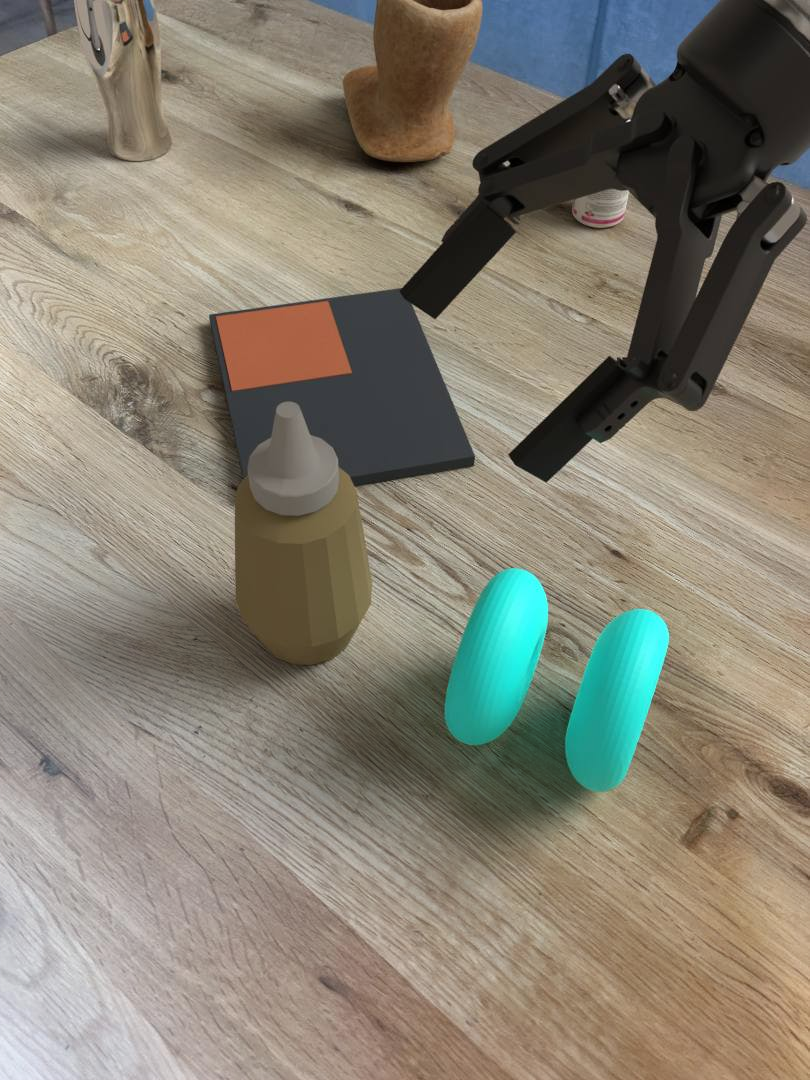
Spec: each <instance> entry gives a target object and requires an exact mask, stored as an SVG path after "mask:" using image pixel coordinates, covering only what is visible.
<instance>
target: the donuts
mask: <svg viewBox="0 0 810 1080" xmlns="http://www.w3.org/2000/svg"><path fill="white" fill-rule="evenodd" d="M548 603H549V602H548V598H547V594H546V591H545V589H544V587H543V585H542V583H541V582H540V580H539V579H538V578H537V577H536V576H535V574H533V573H532V572H530V571H528V570H526V569H523V568H520V567H519V568H518V567H511V568H506V569H503V570H501V571H499V572H498V573H496V574H495V575H493V576H492V577H491V578H490V580H489V581H488V582H487V584H486V585H485V586H484V587H483V590H482V591H481V593H480V595H479V596H478V599H477V601H476V602H475V605H474V606H473V609H472V611H471V614H470V615H469V618H468V620H467V623H466V626H465V628H464V631H463V634H462V636H461V640H460V642H459V645H458V648H457V651H456V654H455V657H454V661H453V663H452V664H453V665H452V666H451V667H452V668H451V671H450V675H449V678H448V683H447V684H448V685H447V688H446V693H445V700H444V701H445V702H444V719H445V723H446V727H447V729H448V731H449V733H450V734H451V735H452V736H453V738H455V739H456V740H457V741H459V742H461V743H463V744H465V745H470V746H481V745H485V744H489V743H490V742H492V741H494V740H496V739H497V738H499V737H500V736H502V735H503V734H504V733H505V732H506V730H508V729H509V727H510V726H511V725H512V724H513V722H514V721H515V719H516V718H517V715H518V714H519V712H520V710H521V708H522V706H523V704H524V701H525V699H526V697H527V694H528V691H529V689H530V686H531V684H532V681H533V678H534V675H535V672H536V669H537V666H538V663H539V660H540V657H541V653H542V649H543V646H544V642H545V638H546V634H547V631H548V630H547V629H548V623H549V604H548ZM669 644H670V632H669V628H668V625H667V624H666V622H665V621H664V619H663V618H662V617H661V616H660V615H659V614H657V613H656V612H654V611H652V610H650V609H645V608H633V609H630V610H626V611H624V612H622V613H620V614H618V615H617V616H615V617H614V618H613V619H612V620H611V621H610V622H608V623H607V624H606V626H605V627H604V628H603V629H602V631H601V632H600V634H599V636H598V637H597V640H596V641H595V644H594V646H593V649H592V651H591V653H590V656H589V659H588V662H587V664H586V668H585V669H584V672H583V676H582V678H581V682H580V685H579V688H578V691H577V693H576V698H575V701H574V703H573V707H572V710H571V713H570V716H569V720H568V724H567V728H566V732H565V741H564V750H565V758H566V762H567V766H568V768H569V771H570V773H571V775H572V776H573V778H574V779H575V781H576V782H577V783H579V785H581V786H582V787H583V788H585V789H586V790H588V791H592V792H595V793H596V792H597V793H604V792H609V791H611V790H614V789H616V788H617V787H618V786H620V785H621V783H622V782H623V781H624V779H625V778H626V775H627V773H628V771H629V768H630V766H631V762H632V759H633V757H634V756H635V755H634V754H635V752H636V749H637V745H638V743H639V740H640V737H641V734H642V731H643V728H644V726H645V722H646V719H647V717H648V713H649V710H650V707H651V704H652V700H653V697H654V695H655V691H656V688H657V685H658V682H659V678H660V675H661V672H662V668H663V665H664V662H665V659H666V656H667V651H668V648H669Z"/></svg>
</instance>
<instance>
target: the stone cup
mask: <svg viewBox="0 0 810 1080" xmlns="http://www.w3.org/2000/svg"><path fill="white" fill-rule="evenodd" d="M482 17H483V1H482V0H376V4H375V11H374V21H373V32H372V36H373V37H372V38H373V39H372V40H373V50H374V56H375V57H374V58H375V62H376V65H367V66H363V67H359V68H356V69H352V70H350V71H349V72H348V73H346V74H345V75H344V77H343V79H342V88H343V95H344V100H345V105H346V108H347V113H348V117H349V120H350V124H351V128H352V130H353V132H354V136H355V139H356V141H357V143H358V145H359V146H360V148H361V150H363V151H364V153H365V154H366V155H368V156H370V157H372V158H375V159H378V160H381V161H386V162H392V163H414V162H426V161H431V160H435V159H437V158H439V157H443V156H447V155H448V154H450V153H451V152H452V151H453V148H454V145H455V136H456V135H455V124H454V119H453V116H452V114H451V111H450V110H449V104H450V101H451V98H452V95H453V92H454V90H455V88H456V85H457V83H458V81H459V80H460V77H461V76H462V74H463V73H464V70H465V68H466V67H467V64H468V62H469V60H470V58H471V56H472V54H473V52H474V49H475V47H476V44H477V42H478V37H479V34H480V28H481V24H482Z"/></svg>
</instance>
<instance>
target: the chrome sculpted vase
mask: <svg viewBox="0 0 810 1080" xmlns="http://www.w3.org/2000/svg"><path fill="white" fill-rule="evenodd" d="M73 6H74V14H75V20H76V25H77V26H76V27H77V31H78V36H79V41H80V45H81V49H82V52H83V55H84V58H85V61H86V64H87V67H88V69H89V71H90V74H91V77H92V79H93V82H94V85H95V87H96V89H97V92H98V94H99V97H100V99H101V103H102V105H103V110H104V113H105V118H106V126H107V127H106V128H107V133H106V135H107V149H108V151H109V152H110V154H111V155H113V156H114V157H115V158H118V159H120V160H123V161H129V162H144V161H150V160H154V159H157V158H160V157H162V156H163V155H165V154H167V152H169V150H170V149H171V147H172V145H173V137H172V135H171V132H170V129H169V126H168V124H167V121H166V118H165V114H164V110H163V101H162V44H161V43H162V41H161V33H160V26H159V21H158V16H157V11H156V7H155V6H156V5H155V2H154V0H73Z"/></svg>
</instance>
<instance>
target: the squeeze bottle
mask: <svg viewBox="0 0 810 1080" xmlns="http://www.w3.org/2000/svg"><path fill="white" fill-rule="evenodd" d="M234 575H235V576H234V583H235V584H234V587H235V588H234V593H235V594H234V595H235V596H234V597H235V603H236V606H237V607H238V608H237V609H238V612H239V614H240V617H241V620H242V621H243V623H244V624H245V625H246V626H247V627H248V629H250V631H251V632H252V633H253V634H254V636H255V637H256V638H257V639H258V640H259V642H261V644H263V646H264V647H265V648H266V649H267V650H268V651H269V652H270V653H271V654H272V655H274V656H275V657H276V659H280V660H282V661H284V662H287V663H290V664H292V665H304V666H305V665H307V666H313V665H317V664H320V663H323V662H326V661H330V660H333V659H334V658H335V657H337V656H338V655H340V653H342V652H343V651H344V650H345V649H346V648H347V647H348V645H349V644H350V642H351V640H352V639H353V637H354V635H355V634H356V632H357V630H358V628H359V626H360V624H361V623H362V621H363V619H364V617H365V615H366V613H367V611H368V610H369V608H370V607H371V604H372V592H373V578H372V573H371V567H370V561H369V556H368V549H367V544H366V538H365V533H364V526H363V521H362V513H361V508H360V503H359V498H358V492H357V489H356V486H354V485H353V483H352V481H351V478H350V476H349V475H348V474H347V473H346V472H344V471H343V470H342V469H341V468H339V467H338V458H337V456H336V454H335V452H334V450H333V447H331V446H330V445H329V444H327V443H326V442H325V441H324V440H322V439H321V438H318V437H315V436H312V435H310V433H309V431H308V428H307V425H306V423H305V420H304V417H303V415H302V412H301V409H300V407H299V405H298V404H296V403H294V402H283V403H281V404H279V405H278V406H277V408H276V414H275V419H274V425H273V430H272V436H271V438H269V439H268V440H266V441H264V442H263V443H261V444H259V445H258V446H257V447H256V449H255V450H254V451H253V453H252V454H251V455H250V457H249V463H248V475H247V476H246V477H245V479H244V480H243V479H242V481H241V483H239V485H238V487H237V490H236V494H235V501H234Z"/></svg>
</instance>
